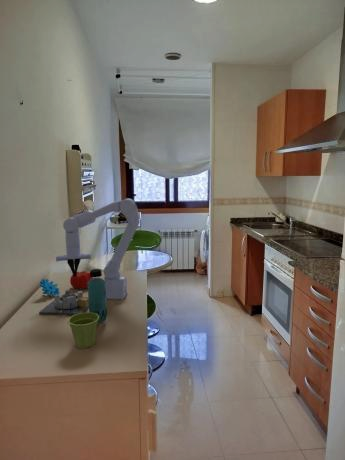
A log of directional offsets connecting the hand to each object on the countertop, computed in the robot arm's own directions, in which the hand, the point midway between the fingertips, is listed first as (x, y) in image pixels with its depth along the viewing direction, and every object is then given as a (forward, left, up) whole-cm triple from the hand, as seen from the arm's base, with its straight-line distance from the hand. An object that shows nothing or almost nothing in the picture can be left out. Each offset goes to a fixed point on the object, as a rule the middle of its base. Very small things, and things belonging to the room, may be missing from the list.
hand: (74, 275), depth 145 cm
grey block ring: (-3, +11, -9) cm, 14 cm away
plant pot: (-20, +40, -10) cm, 46 cm away
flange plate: (-2, +10, -10) cm, 15 cm away
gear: (+13, -2, -10) cm, 17 cm away
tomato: (+3, -14, -10) cm, 18 cm away
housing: (-2, +10, -10) cm, 15 cm away
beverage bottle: (-19, +25, -10) cm, 33 cm away
